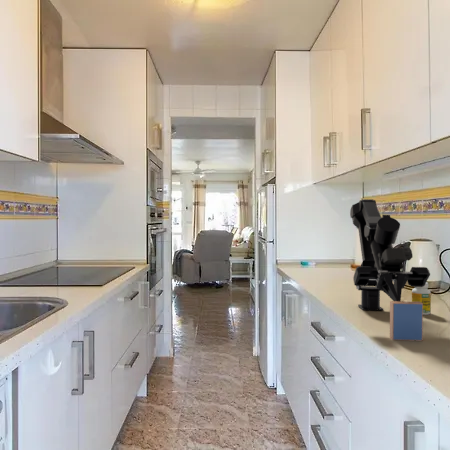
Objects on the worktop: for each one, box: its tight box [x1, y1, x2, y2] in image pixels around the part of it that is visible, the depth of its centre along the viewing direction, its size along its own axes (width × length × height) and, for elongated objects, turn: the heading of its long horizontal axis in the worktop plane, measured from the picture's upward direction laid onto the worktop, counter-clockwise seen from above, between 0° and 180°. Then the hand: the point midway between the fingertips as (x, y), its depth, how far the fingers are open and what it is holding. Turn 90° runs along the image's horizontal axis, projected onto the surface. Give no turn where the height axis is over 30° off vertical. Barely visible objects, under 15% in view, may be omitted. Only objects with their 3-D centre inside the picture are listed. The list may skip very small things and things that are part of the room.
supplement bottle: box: [411, 281, 432, 316], centre depth 124 cm, size 5×5×10 cm
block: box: [389, 300, 424, 342], centre depth 96 cm, size 2×7×9 cm, turn 86°
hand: (398, 302), depth 102 cm, fingers closed
